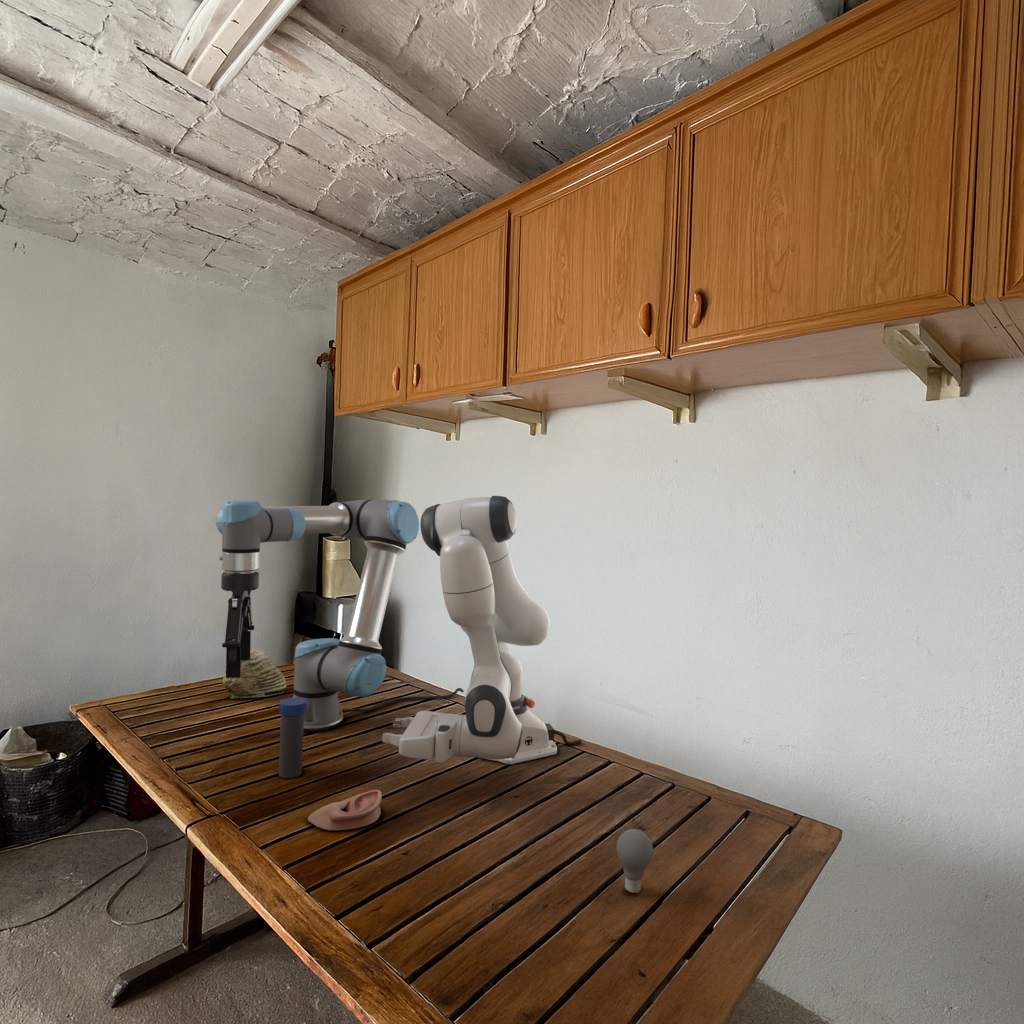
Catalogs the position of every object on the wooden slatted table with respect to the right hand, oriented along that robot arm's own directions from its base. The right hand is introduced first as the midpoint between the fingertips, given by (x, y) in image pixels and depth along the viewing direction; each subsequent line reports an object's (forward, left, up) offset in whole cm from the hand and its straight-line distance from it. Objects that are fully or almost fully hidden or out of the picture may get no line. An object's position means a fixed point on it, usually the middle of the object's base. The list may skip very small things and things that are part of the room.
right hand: (388, 729), depth 142 cm
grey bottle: (+20, -10, -12) cm, 25 cm away
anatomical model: (+11, +14, -12) cm, 21 cm away
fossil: (+28, -71, -12) cm, 77 cm away
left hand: (+32, -8, +13) cm, 35 cm away
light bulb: (-31, +52, -12) cm, 62 cm away
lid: (+20, -10, +4) cm, 23 cm away
